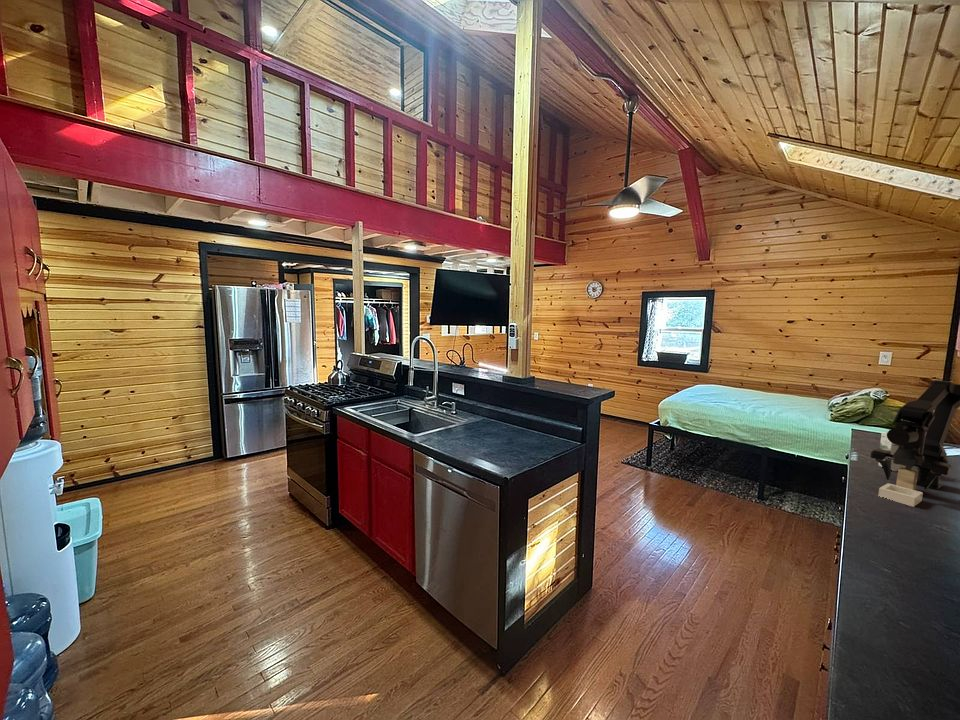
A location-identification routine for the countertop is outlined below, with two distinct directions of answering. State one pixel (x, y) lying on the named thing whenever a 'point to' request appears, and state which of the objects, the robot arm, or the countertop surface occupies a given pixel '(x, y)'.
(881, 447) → the syrup box
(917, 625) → the countertop surface
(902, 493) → the cream square ring
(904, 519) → the countertop surface
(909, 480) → the wooden peg
